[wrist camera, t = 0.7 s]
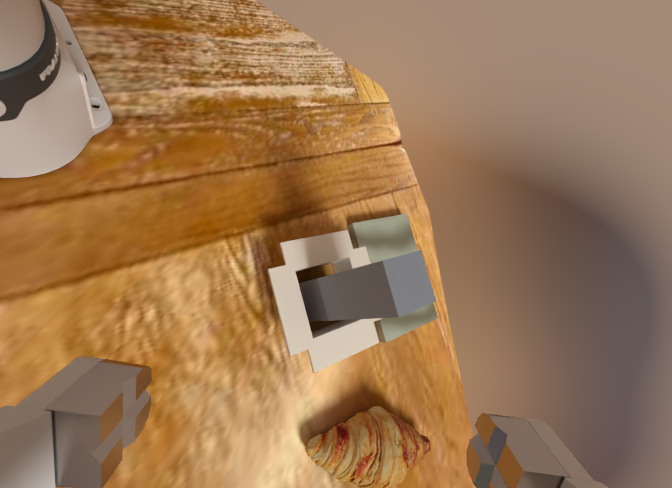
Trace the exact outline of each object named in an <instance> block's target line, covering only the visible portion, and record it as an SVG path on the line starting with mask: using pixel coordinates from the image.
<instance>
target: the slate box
mask: <svg viewBox="0 0 672 488" xmlns="http://www.w3.org/2000/svg"><path fill="white" fill-rule="evenodd" d="M299 287H300V291H301V295H302V298H303V302H304V306H305V310H306V314H307V317H308V321H309V322H310V321H332V320H353V319H374V318H396V317H401V316H403V315H405V314H408V313H410V312H412V311H415V310H417V309H419V308H422V307H424V306H426V305H429V304H431V303H433V302H436V299H435V296H434V292H433V289H432V286H431V282H430V279H429V276H428V272H427V269H426V266H425V262H424V259H423V256H422V252H421V250H419V251H415V252H412V253H408V254H404V255H401V256H397V257H393V258H390V259H386V260H383V261H379V262H375V263H372V264H368V265H364V266H361V267H357V268H353V269H350V270H346V271H343V272H339V273H335V274H332V275H328V276H324V277H321V278H317V279H314V280H310V281H306V282H303V283H299Z"/></svg>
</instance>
